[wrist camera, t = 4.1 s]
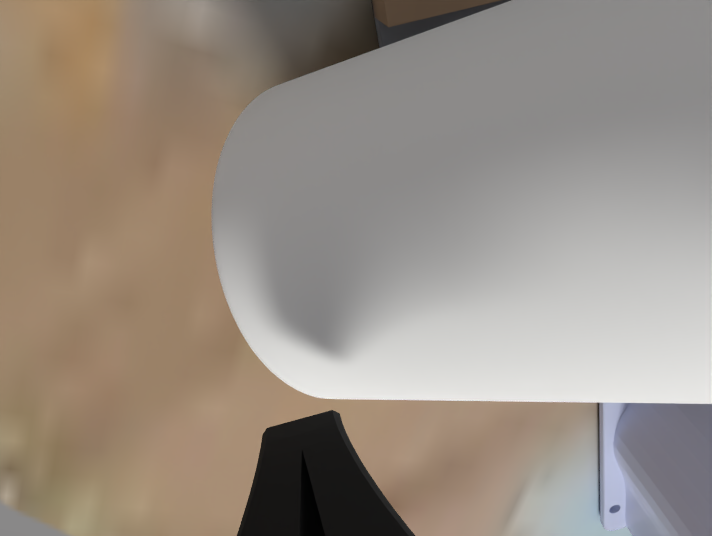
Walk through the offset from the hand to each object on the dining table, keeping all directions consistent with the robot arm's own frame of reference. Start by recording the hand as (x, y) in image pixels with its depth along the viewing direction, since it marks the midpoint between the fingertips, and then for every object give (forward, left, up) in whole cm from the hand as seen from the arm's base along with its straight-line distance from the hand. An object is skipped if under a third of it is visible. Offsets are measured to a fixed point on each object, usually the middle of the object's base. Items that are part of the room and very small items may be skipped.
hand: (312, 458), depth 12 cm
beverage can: (+1, -1, -7) cm, 7 cm away
